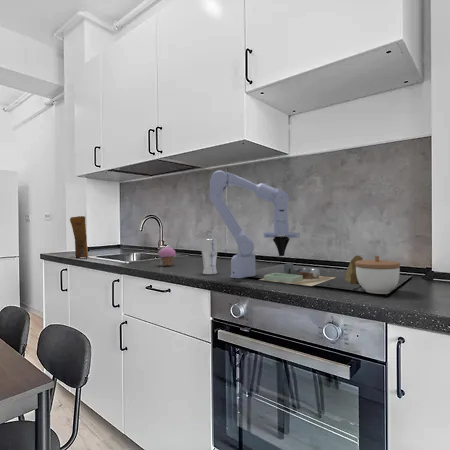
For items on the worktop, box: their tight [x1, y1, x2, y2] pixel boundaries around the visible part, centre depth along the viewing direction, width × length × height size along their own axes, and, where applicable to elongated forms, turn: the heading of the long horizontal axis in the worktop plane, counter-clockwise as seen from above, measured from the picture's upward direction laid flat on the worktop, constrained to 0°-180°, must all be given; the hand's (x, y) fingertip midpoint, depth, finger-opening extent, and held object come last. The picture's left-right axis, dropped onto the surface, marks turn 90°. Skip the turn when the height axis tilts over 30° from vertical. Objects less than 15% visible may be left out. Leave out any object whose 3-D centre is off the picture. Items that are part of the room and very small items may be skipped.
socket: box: [298, 272, 312, 279], centre depth 126 cm, size 5×7×2 cm
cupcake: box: [158, 246, 177, 267], centre depth 175 cm, size 9×9×10 cm
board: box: [258, 272, 337, 287], centre depth 124 cm, size 21×20×1 cm
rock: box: [345, 254, 364, 285], centre depth 117 cm, size 11×9×10 cm
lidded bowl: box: [355, 255, 401, 295], centre depth 104 cm, size 13×13×11 cm
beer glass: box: [200, 238, 218, 275], centre depth 147 cm, size 7×7×15 cm
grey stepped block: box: [283, 262, 299, 275], centre depth 130 cm, size 5×4×4 cm
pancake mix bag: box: [69, 215, 89, 258], centre depth 226 cm, size 7×19×28 cm, turn 46°
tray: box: [263, 272, 303, 284], centre depth 122 cm, size 12×8×2 cm, turn 49°
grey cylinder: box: [298, 266, 321, 278], centre depth 126 cm, size 7×4×4 cm, turn 49°
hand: (281, 255), depth 133 cm, fingers closed
